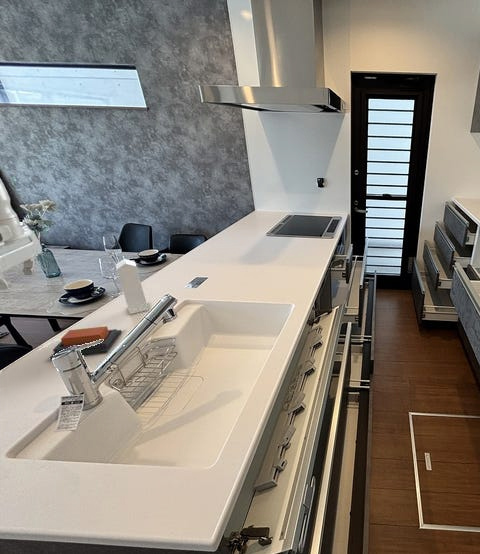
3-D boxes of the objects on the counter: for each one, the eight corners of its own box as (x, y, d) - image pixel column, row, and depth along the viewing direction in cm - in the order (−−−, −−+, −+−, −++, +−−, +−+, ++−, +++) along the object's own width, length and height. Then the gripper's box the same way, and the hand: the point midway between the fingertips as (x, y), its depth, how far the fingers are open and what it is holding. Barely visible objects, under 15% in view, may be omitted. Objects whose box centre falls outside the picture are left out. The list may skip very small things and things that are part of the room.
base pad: (50, 360, 92) (47, 353, 91) (72, 337, 102) (69, 331, 102) (106, 352, 96) (104, 346, 95) (121, 332, 107) (119, 326, 106)
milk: (130, 314, 118) (113, 261, 109) (128, 308, 122) (112, 256, 113) (148, 309, 121) (134, 258, 112) (147, 303, 126) (132, 253, 117)
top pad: (65, 349, 95) (60, 338, 94) (73, 340, 100) (69, 330, 98) (103, 344, 98) (100, 334, 97) (110, 336, 103) (106, 326, 101)
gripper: (9, 220, 83) (29, 267, 88) (-59, 242, 65) (-29, 299, 71) (39, 220, 85) (56, 266, 90) (-20, 241, 67) (6, 296, 73)
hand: (18, 281), depth 80 cm, fingers open, 8 cm apart
